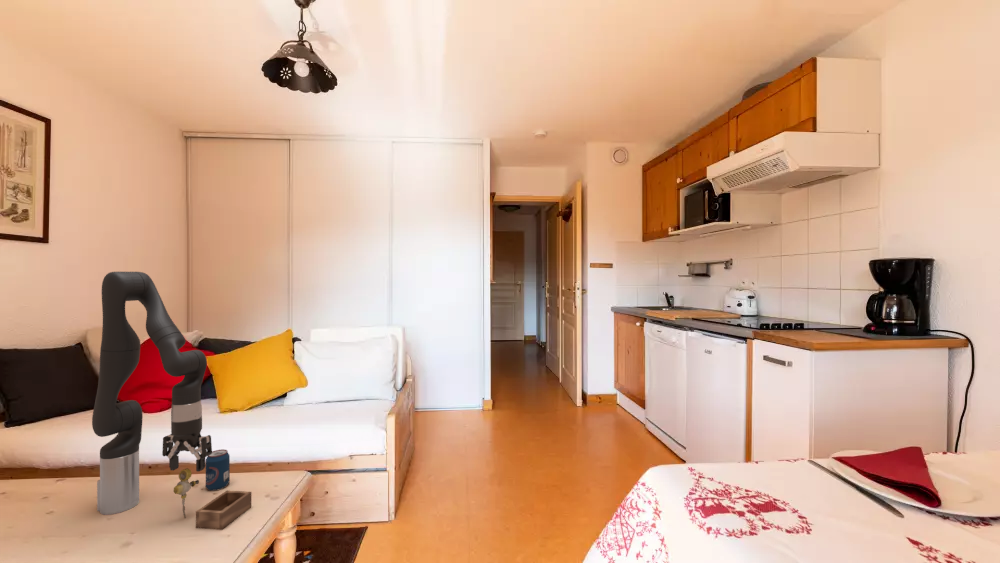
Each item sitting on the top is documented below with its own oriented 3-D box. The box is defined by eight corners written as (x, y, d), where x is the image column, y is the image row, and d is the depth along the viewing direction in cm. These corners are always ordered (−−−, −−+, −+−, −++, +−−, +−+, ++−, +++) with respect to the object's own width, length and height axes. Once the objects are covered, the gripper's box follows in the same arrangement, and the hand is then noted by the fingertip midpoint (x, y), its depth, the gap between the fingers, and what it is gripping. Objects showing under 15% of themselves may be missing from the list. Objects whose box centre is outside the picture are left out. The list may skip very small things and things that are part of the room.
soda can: (200, 491, 142) (200, 456, 142) (217, 481, 149) (217, 448, 148) (218, 492, 141) (218, 457, 140) (234, 482, 147) (234, 449, 147)
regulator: (180, 525, 122) (180, 474, 122) (169, 523, 123) (169, 473, 123) (203, 511, 129) (203, 463, 129) (193, 509, 130) (193, 462, 130)
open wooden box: (195, 528, 120) (195, 511, 120) (226, 505, 132) (226, 490, 132) (222, 530, 120) (222, 513, 120) (251, 507, 132) (251, 491, 132)
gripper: (154, 420, 123) (154, 474, 123) (198, 421, 122) (198, 476, 122) (176, 412, 130) (176, 463, 130) (218, 413, 129) (218, 465, 129)
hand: (187, 469), depth 126 cm, fingers open, 8 cm apart
